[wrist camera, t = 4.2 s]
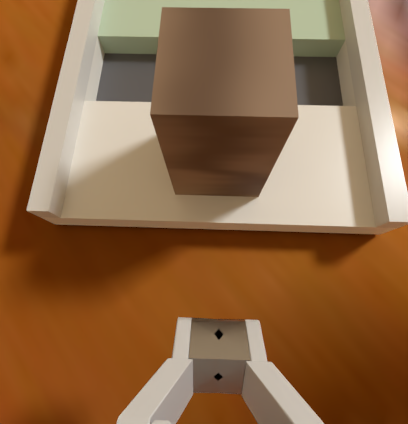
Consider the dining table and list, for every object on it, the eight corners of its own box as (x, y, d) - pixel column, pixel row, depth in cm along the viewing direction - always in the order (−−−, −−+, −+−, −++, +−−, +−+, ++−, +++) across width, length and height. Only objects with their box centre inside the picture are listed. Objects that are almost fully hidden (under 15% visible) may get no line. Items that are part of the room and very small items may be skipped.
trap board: (337, -22, 29) (354, -63, 26) (380, 234, 21) (413, 222, 17) (106, -24, 30) (93, -65, 26) (55, 224, 21) (26, 210, 18)
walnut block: (256, 125, 21) (289, 8, 13) (258, 196, 19) (298, 117, 11) (180, 123, 21) (161, 7, 13) (175, 194, 20) (150, 114, 11)
